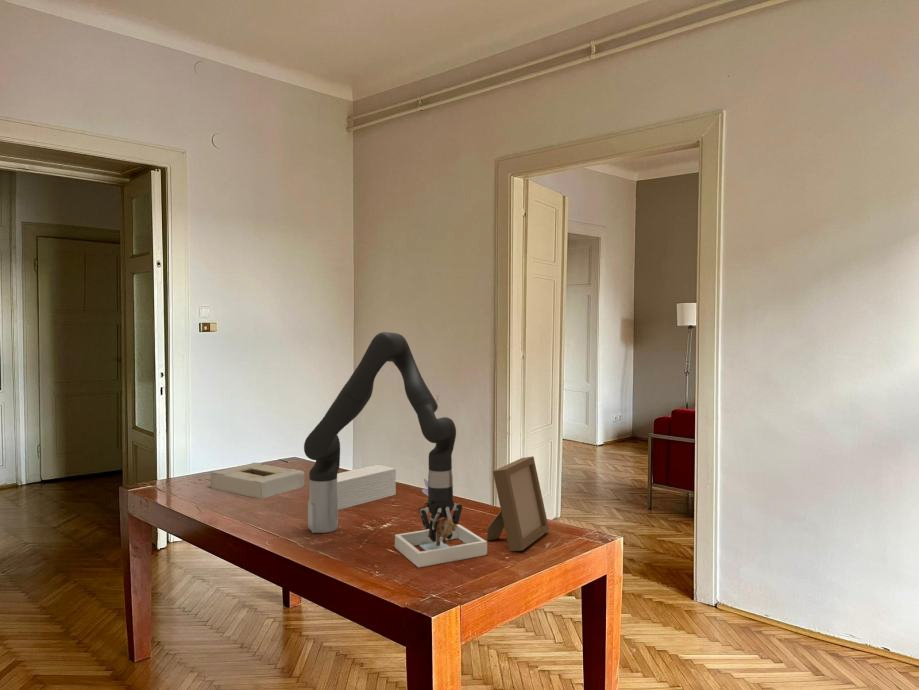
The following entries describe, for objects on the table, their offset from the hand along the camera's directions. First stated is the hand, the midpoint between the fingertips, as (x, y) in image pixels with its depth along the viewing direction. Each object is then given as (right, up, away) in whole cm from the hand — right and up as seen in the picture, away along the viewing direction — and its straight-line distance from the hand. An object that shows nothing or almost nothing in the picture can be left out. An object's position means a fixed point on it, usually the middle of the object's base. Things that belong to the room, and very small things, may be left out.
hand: (441, 539), depth 203 cm
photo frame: (+23, -3, +11) cm, 26 cm away
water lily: (-3, -2, +50) cm, 50 cm away
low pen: (0, -4, +1) cm, 4 cm away
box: (-79, -1, +77) cm, 111 cm away
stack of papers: (-35, -2, +57) cm, 67 cm away
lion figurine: (-1, -1, +2) cm, 2 cm away
